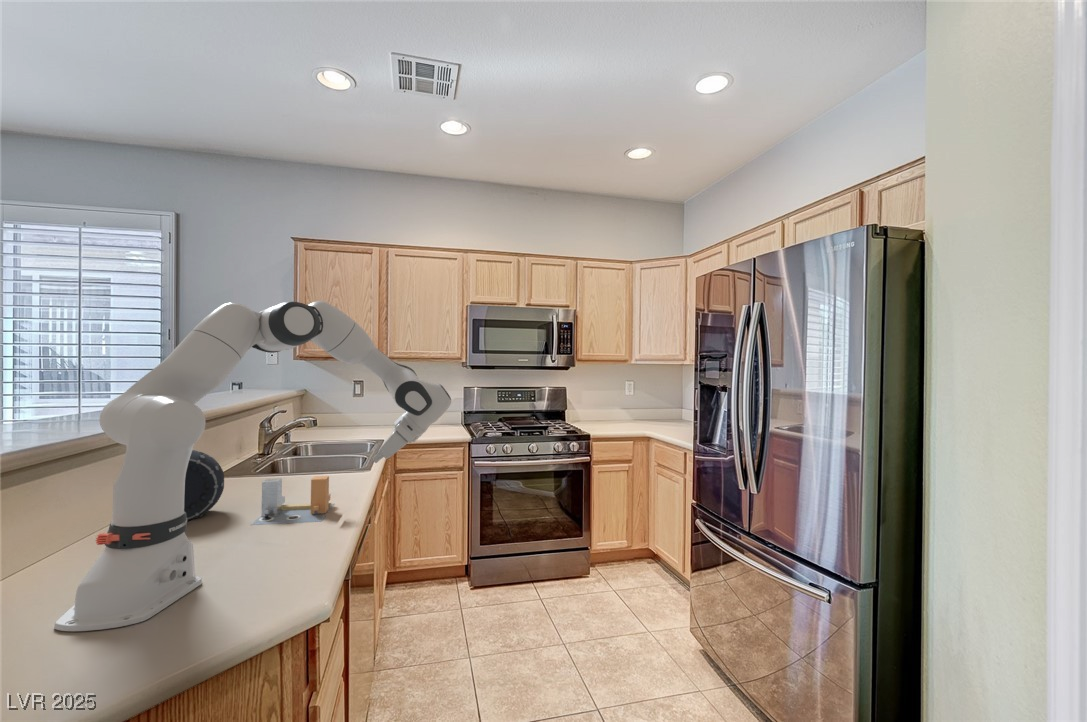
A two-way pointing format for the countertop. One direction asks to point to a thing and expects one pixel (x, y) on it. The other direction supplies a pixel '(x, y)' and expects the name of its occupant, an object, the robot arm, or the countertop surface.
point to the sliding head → (319, 494)
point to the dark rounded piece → (202, 484)
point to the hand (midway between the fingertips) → (374, 460)
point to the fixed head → (272, 497)
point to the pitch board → (294, 515)
